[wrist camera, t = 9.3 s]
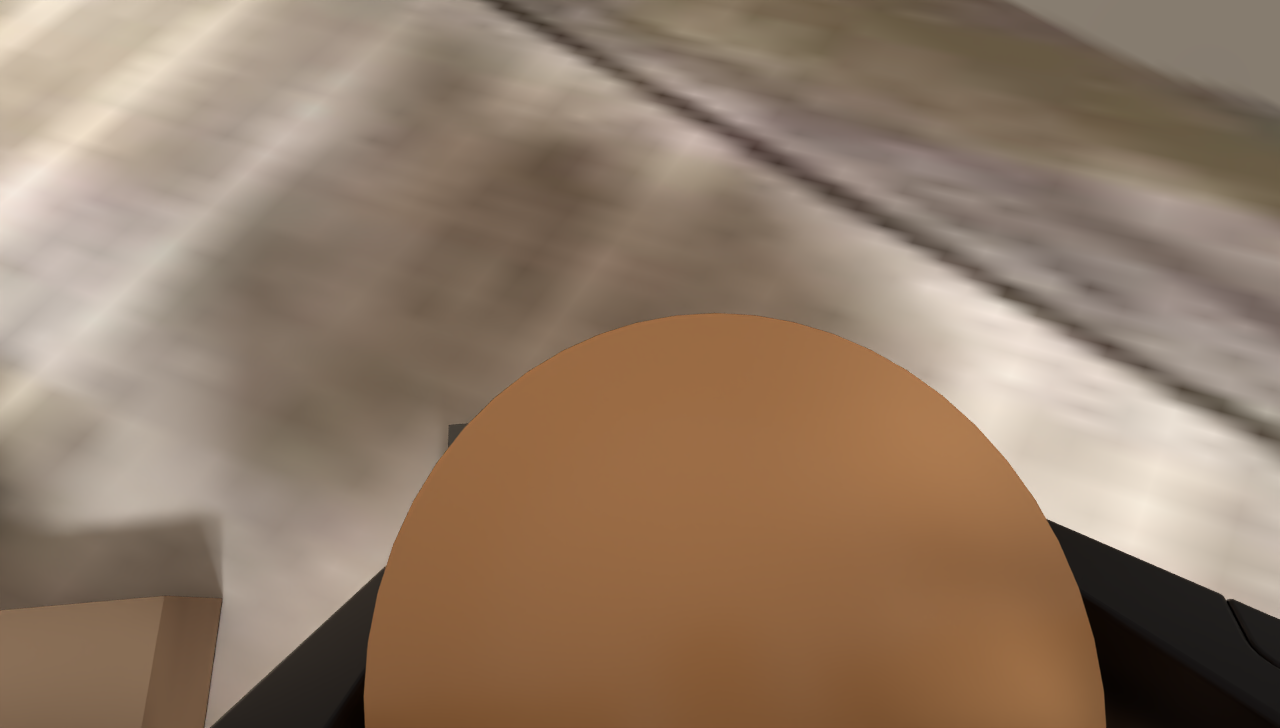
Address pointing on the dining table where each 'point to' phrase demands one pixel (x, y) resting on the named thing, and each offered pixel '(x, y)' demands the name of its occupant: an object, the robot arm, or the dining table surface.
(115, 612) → the post stand
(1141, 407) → the dining table surface
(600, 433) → the orange rounded bulb shape
